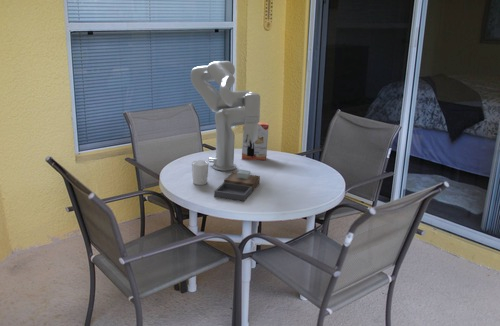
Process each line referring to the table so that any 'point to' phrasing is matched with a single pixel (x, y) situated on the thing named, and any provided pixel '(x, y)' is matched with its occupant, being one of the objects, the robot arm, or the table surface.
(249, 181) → the board
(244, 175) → the tile
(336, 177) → the table surface
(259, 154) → the cracker box
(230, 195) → the tray
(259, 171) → the table surface
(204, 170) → the white cup
